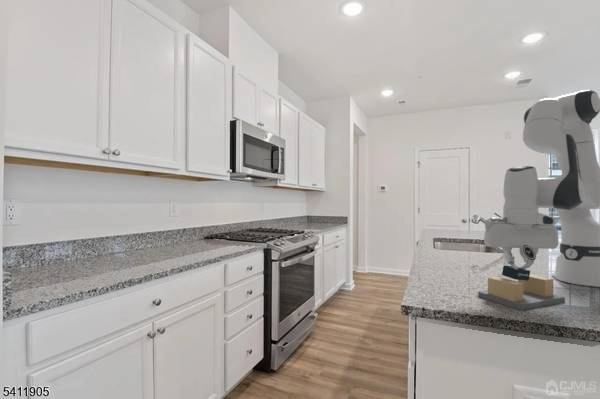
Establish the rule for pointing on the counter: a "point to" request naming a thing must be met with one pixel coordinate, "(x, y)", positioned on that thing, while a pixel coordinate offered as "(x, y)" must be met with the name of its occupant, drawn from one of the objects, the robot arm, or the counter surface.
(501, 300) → the holder
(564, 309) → the counter surface
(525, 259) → the watch
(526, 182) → the robot arm
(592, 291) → the counter surface
